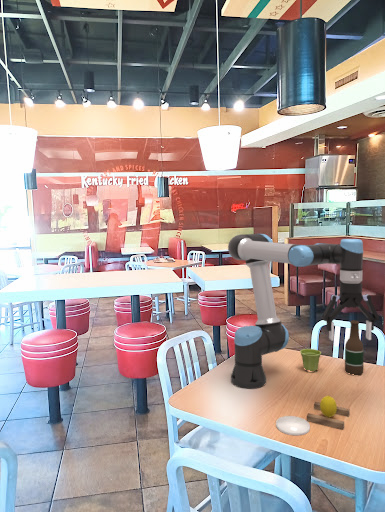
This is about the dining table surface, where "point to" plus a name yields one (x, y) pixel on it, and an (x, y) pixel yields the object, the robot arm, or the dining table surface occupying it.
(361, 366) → the beer bottle
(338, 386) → the dining table surface
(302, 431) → the saucer
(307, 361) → the plant pot
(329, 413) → the lemon
